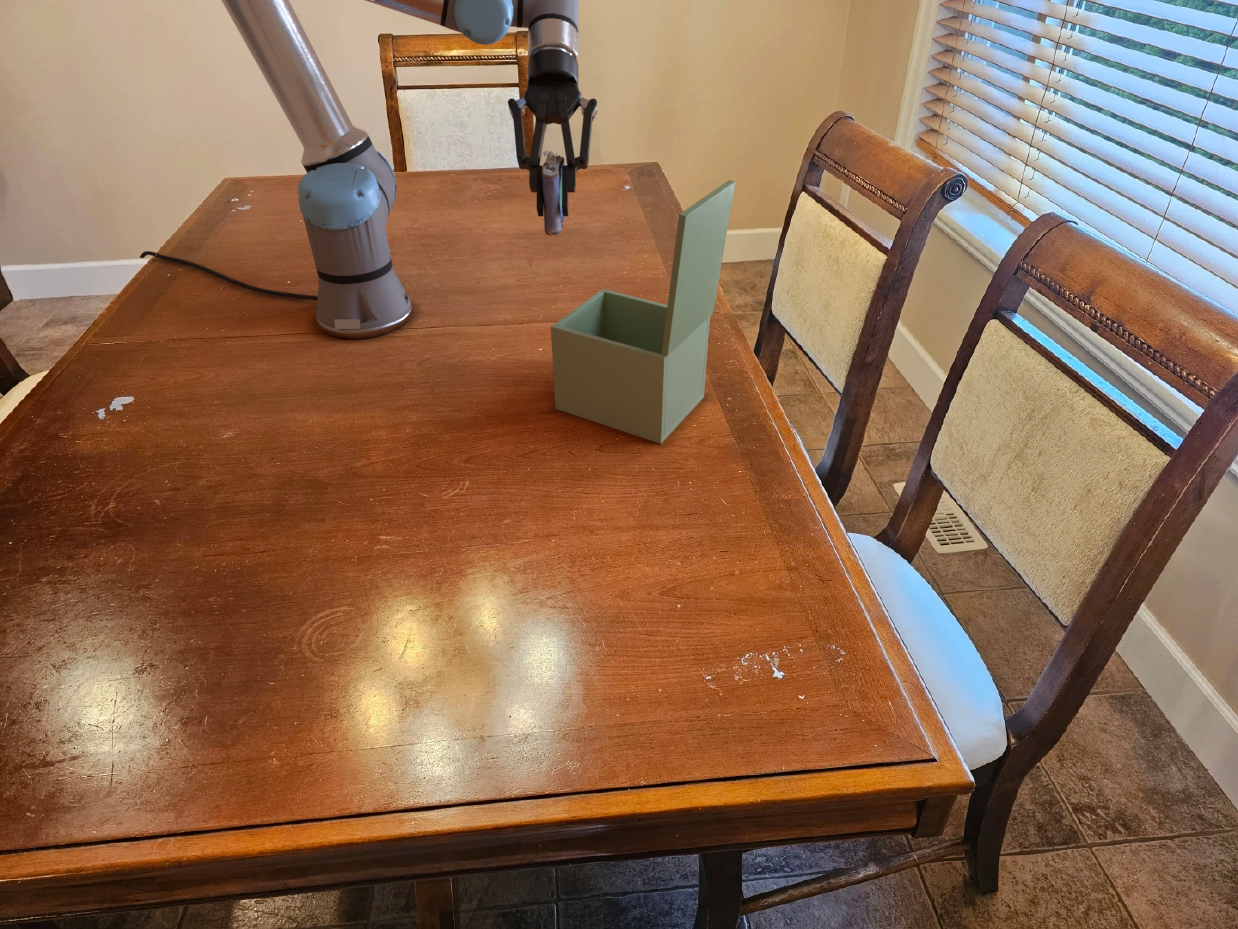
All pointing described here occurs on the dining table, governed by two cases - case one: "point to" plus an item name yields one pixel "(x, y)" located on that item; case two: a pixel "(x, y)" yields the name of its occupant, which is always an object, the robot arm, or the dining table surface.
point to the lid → (697, 265)
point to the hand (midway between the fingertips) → (552, 211)
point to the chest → (626, 366)
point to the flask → (552, 193)
